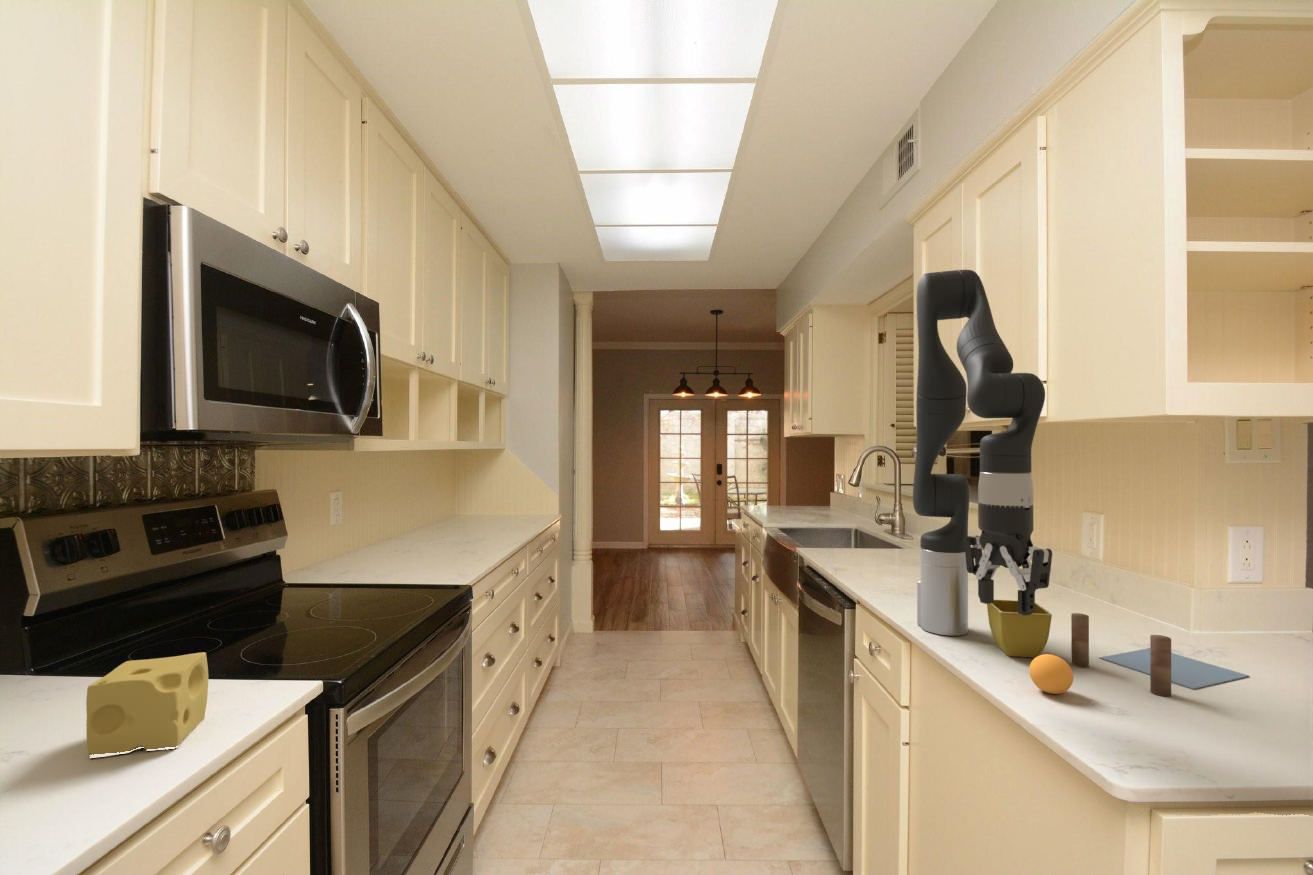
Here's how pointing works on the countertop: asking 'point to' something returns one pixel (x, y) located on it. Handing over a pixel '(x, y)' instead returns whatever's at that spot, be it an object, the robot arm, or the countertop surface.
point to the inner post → (1080, 640)
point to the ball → (1051, 674)
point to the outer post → (1160, 665)
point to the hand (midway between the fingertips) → (1005, 608)
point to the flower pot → (1019, 628)
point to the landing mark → (1178, 669)
